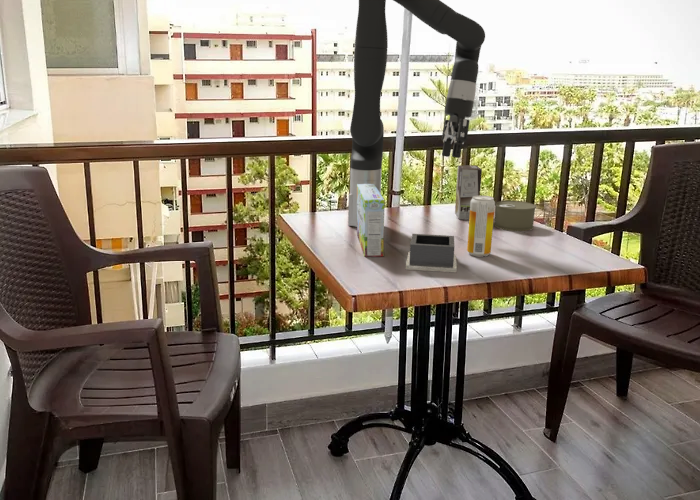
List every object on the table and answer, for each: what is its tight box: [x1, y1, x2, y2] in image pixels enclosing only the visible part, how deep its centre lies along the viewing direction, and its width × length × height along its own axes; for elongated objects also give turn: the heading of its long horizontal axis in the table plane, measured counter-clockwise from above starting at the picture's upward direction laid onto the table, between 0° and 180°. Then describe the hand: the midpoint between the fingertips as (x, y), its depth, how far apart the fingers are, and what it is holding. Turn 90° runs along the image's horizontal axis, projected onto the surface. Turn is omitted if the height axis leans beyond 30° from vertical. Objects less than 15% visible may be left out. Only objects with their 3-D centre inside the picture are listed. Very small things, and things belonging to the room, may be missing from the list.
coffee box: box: [454, 164, 483, 220], centre depth 210 cm, size 9×6×16 cm
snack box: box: [356, 184, 386, 258], centre depth 175 cm, size 21×6×15 cm, turn 5°
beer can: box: [466, 195, 496, 258], centre depth 169 cm, size 6×6×15 cm
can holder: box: [405, 233, 458, 273], centre depth 162 cm, size 12×12×6 cm
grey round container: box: [493, 200, 537, 232], centre depth 200 cm, size 12×12×7 cm
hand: (450, 156), depth 185 cm, fingers open, 8 cm apart
